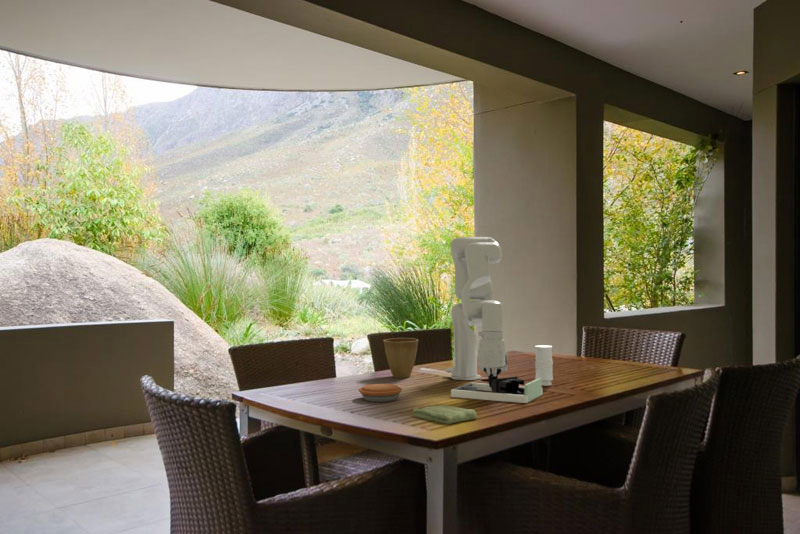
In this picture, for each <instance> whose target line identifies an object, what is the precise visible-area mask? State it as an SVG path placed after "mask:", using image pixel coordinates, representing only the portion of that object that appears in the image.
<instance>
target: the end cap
mask: <svg viewBox="0 0 800 534" xmlns="http://www.w3.org/2000/svg"><path fill="white" fill-rule="evenodd" d="M524 385H525V380H524V379H520V378H518V376H509V377H501V378H498V379H494V380H493V381H492V384H491V390H492V391H491V393H504V394H516V395H525V394H524V388H520V387H519V386H524Z"/></svg>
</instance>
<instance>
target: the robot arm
mask: <svg viewBox="0 0 800 534" xmlns="http://www.w3.org/2000/svg"><path fill="white" fill-rule="evenodd" d="M450 253H451V254H450V255H451V258H452V261H453V264H454V294H455V297H456V298H457V299H459V300H460V302H461V303H460V302H459V303H456V304H454V305H453V306H452V307H451V309H450V310H451V311H450V315H451V321H452V329H453V330H452V331H453V366H452V367H446V368H445V371H446V373H451V375H450V379H451V380H454V381H455V380H456V381H477V380H480V379H481V378H482V377H481V375H480V374H478V370H480V371H483V372H484V373H485V374H486V376H487V377H488V379H487V380H488V381H487V384H489V387H491V384H492V381H493V380H494V379H499V378H498V376H499V375H500V374H501V372H502V373H503V372H507V371H508V351H507V345H506V340H505V339H504V325H503V323H504V321H503V320H504V317H503V316H504V315H503V314H504V312H503V311H504V310H503V304H502V302H500V301H498V300H496V299H495V300H494V285H493V282H492V280H491V278H492V273H491V269H490V264H499V263H500V262H501V261H502V257H503V252H502V248H501V245H500V243H498V241H496V240H495V239H494V238H492V237H490V236H460V237H459V236H458V237H455V238H453V239H452V240H451V243H450ZM474 326H481V331H479V332H478V336H479V337H480V339H479V342H478V343H477V335H476V333H475V331H474V330H473V329H472V328H471V327H474ZM477 345H478V346H477Z"/></svg>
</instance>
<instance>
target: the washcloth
mask: <svg viewBox="0 0 800 534" xmlns="http://www.w3.org/2000/svg"><path fill="white" fill-rule="evenodd" d="M412 413H413V417H415V418H418V419H424V420H427V421H432V422H437V423H441V424H446V425H451V424H456V423H461V422H466V421H471V420H472V421H473V420H476V419H477V418H478V414H477V412H476V411H475V409H473V408H472V409H471V408H464V407H458V406H451V405H445V404H443V405H431V406H425V407H422V408H414V409H413V410H412Z"/></svg>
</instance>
